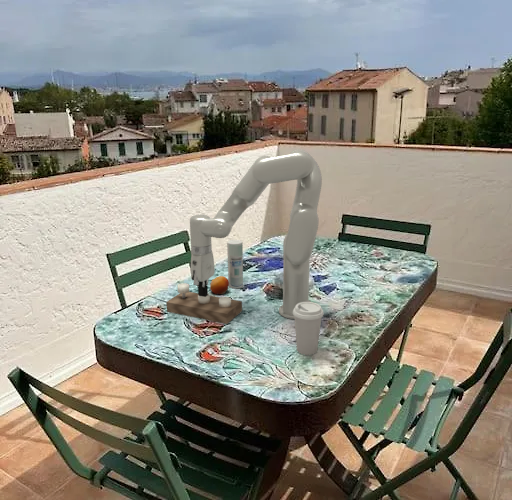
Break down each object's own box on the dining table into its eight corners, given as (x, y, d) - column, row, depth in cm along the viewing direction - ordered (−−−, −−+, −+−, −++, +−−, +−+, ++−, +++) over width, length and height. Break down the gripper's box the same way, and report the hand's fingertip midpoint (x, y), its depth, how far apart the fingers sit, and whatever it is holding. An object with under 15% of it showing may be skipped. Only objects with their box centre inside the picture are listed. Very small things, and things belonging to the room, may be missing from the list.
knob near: (233, 310, 171) (232, 297, 169) (227, 315, 167) (227, 302, 165) (222, 308, 173) (222, 296, 171) (217, 313, 169) (216, 300, 167)
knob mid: (212, 306, 174) (211, 294, 173) (206, 311, 171) (205, 298, 169) (202, 305, 176) (201, 292, 175) (196, 309, 172) (195, 296, 171)
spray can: (240, 282, 202) (240, 239, 196) (245, 287, 196) (244, 243, 190) (226, 284, 200) (225, 240, 195) (230, 289, 195) (229, 244, 189)
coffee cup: (289, 343, 149) (290, 301, 145) (318, 342, 150) (320, 300, 146) (294, 358, 140) (295, 314, 136) (325, 357, 141) (327, 312, 137)
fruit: (230, 293, 186) (220, 277, 185) (215, 301, 189) (204, 285, 188) (235, 286, 194) (225, 270, 193) (220, 294, 197) (210, 278, 195)
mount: (242, 311, 174) (241, 301, 173) (227, 324, 163) (226, 313, 162) (184, 300, 184) (183, 290, 183) (166, 311, 174) (166, 301, 173)
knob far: (191, 296, 177) (191, 284, 176) (185, 300, 173) (184, 288, 172) (182, 294, 179) (181, 282, 177) (176, 299, 175) (175, 286, 174)
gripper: (199, 256, 158) (201, 304, 164) (220, 244, 171) (221, 290, 177) (181, 253, 161) (183, 301, 167) (203, 242, 174) (204, 287, 180)
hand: (203, 295), depth 172 cm, fingers closed
